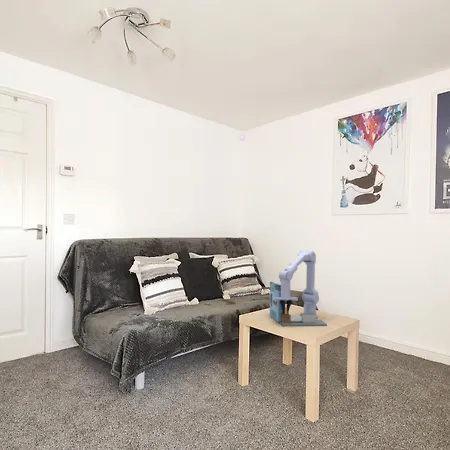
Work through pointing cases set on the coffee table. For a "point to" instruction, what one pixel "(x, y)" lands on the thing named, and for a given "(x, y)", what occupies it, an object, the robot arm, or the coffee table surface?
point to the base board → (299, 323)
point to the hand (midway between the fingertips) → (285, 312)
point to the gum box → (275, 305)
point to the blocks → (294, 316)
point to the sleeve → (308, 317)
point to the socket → (285, 318)
